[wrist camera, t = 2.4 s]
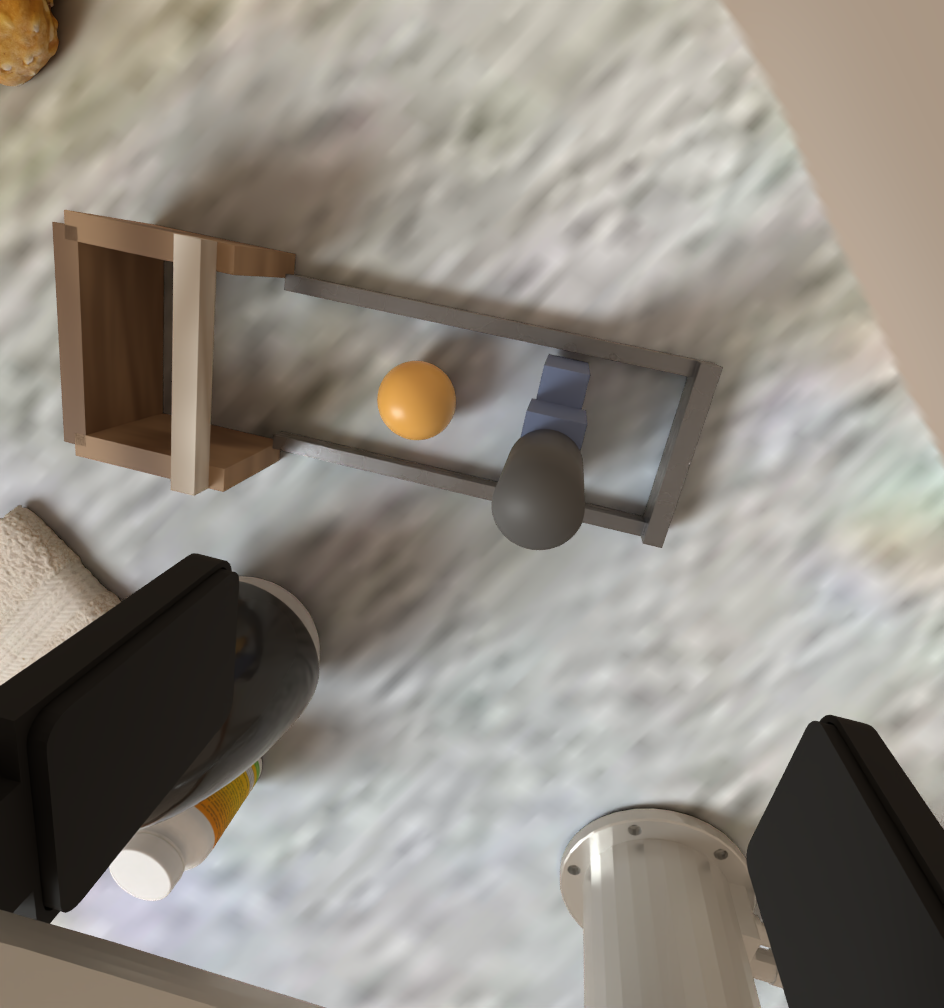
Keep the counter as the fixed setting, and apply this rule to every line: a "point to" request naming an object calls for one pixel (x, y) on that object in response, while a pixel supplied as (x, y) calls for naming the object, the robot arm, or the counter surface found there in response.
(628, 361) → the track
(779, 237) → the counter surface
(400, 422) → the ball
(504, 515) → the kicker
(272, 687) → the pump dispenser
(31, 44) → the bagel
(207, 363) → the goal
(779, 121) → the counter surface
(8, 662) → the washcloth
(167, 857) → the supplement bottle
